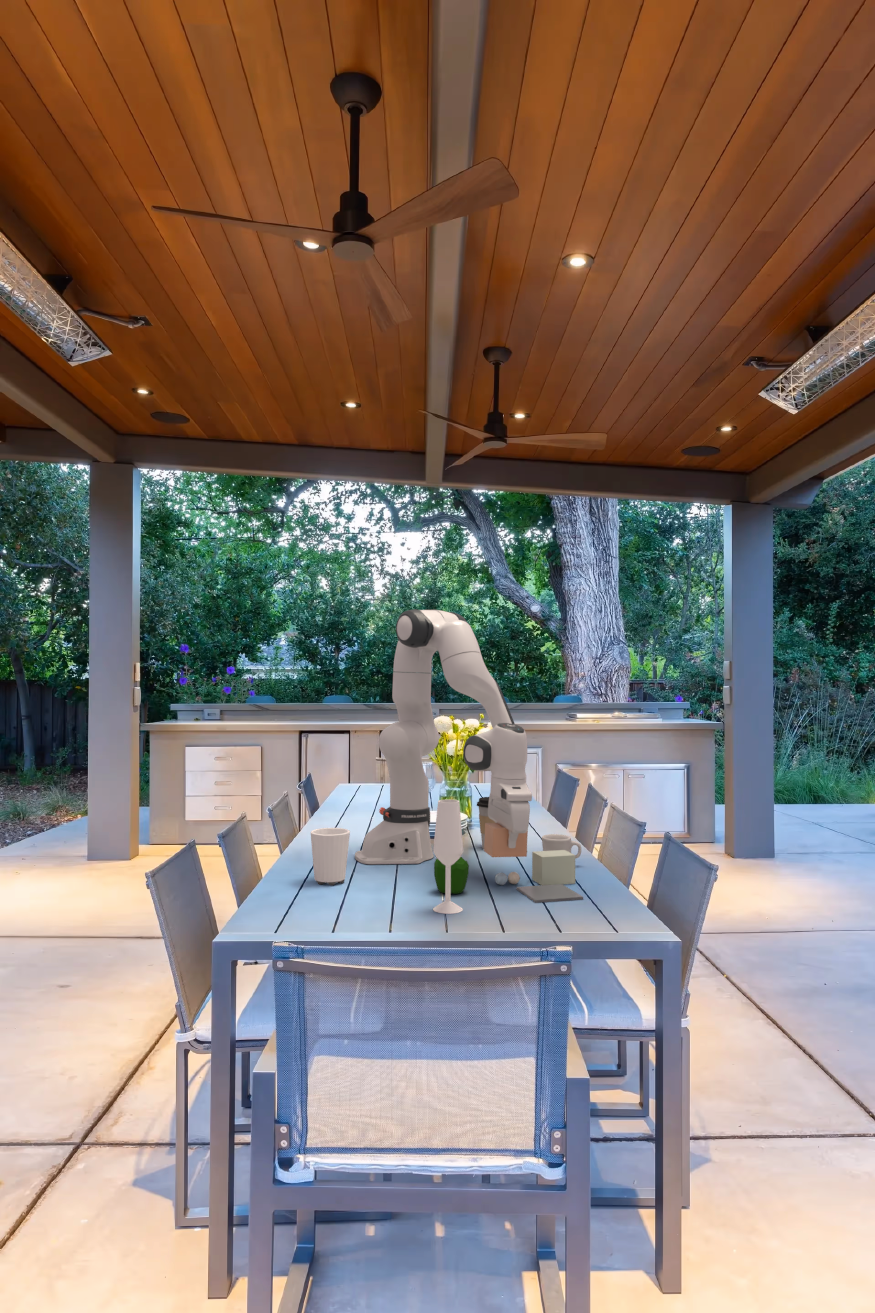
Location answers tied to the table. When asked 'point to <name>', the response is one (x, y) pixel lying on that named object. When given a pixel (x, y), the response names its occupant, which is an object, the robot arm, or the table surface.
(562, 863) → the matte beige cube
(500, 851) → the terracotta block
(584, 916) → the table surface
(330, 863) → the cup
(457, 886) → the bell pepper
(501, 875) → the marble blue
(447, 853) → the champagne flute
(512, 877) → the marble cream
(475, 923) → the table surface
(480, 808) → the coffee cup
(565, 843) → the cup
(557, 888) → the slate coaster
